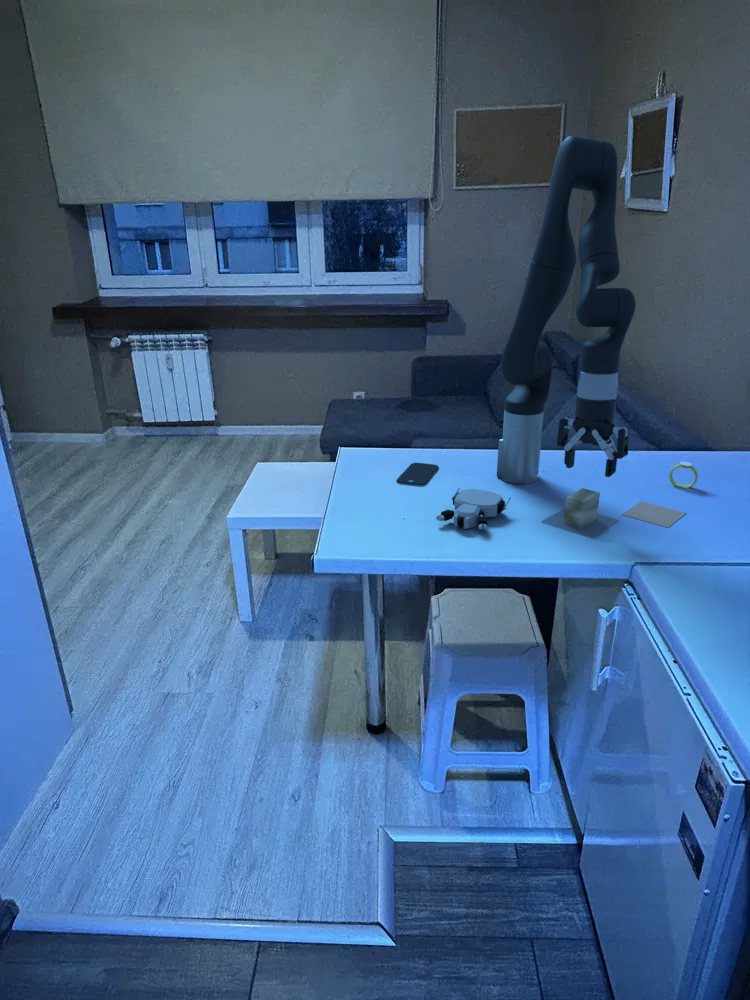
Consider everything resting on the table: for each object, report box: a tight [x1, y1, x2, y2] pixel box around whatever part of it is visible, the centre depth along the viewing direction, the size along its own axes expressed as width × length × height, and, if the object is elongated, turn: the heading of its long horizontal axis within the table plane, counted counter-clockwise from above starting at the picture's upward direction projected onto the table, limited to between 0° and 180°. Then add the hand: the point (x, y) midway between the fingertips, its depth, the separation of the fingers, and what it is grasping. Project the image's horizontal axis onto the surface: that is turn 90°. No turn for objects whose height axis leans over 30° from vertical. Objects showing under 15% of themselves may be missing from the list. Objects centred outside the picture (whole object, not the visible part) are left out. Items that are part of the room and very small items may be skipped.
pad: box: [621, 500, 687, 529], centre depth 148 cm, size 10×10×1 cm
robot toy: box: [435, 486, 512, 530], centre depth 146 cm, size 12×4×15 cm
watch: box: [669, 461, 699, 489], centre depth 162 cm, size 6×3×6 cm, turn 59°
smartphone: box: [396, 462, 440, 487], centre depth 172 cm, size 8×1×15 cm
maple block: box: [563, 487, 601, 529], centre depth 143 cm, size 4×7×6 cm, turn 137°
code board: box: [540, 507, 620, 540], centre depth 145 cm, size 12×12×1 cm
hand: (589, 471), depth 140 cm, fingers open, 8 cm apart
